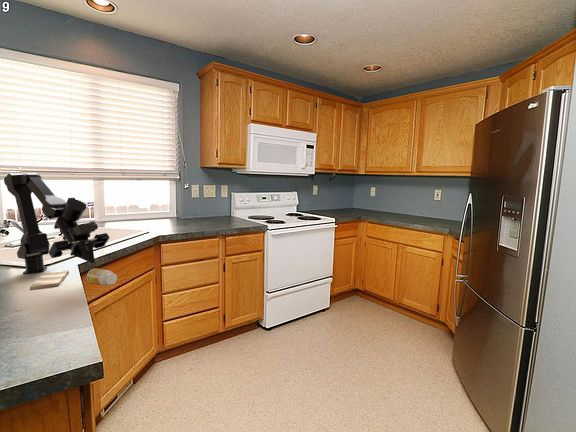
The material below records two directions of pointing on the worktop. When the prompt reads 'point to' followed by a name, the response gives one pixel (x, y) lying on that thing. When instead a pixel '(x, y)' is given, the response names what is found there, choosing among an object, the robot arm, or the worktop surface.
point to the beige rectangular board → (49, 279)
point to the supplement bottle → (101, 277)
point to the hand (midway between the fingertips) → (93, 262)
